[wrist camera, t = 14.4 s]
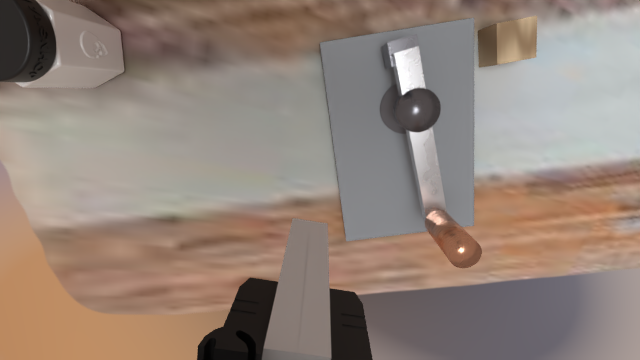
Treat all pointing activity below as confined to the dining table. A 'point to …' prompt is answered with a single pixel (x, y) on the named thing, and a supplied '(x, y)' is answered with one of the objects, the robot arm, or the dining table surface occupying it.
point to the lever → (426, 149)
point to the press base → (399, 128)
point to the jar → (57, 45)
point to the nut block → (507, 42)
